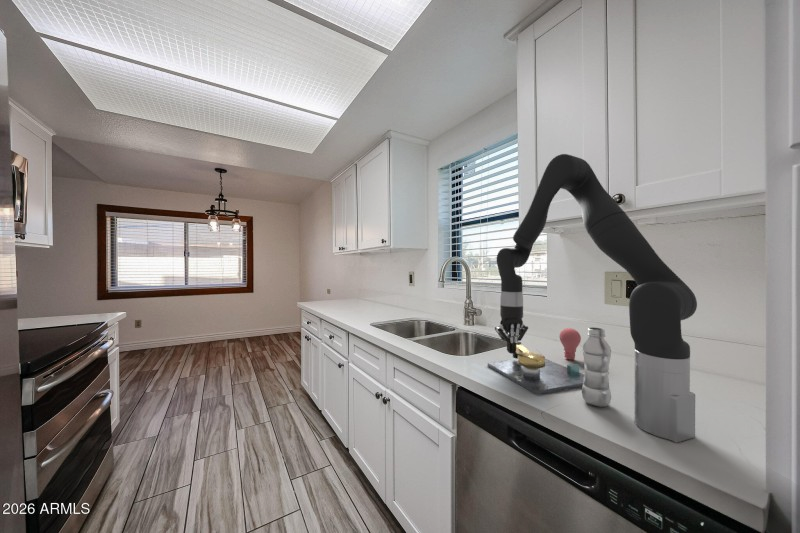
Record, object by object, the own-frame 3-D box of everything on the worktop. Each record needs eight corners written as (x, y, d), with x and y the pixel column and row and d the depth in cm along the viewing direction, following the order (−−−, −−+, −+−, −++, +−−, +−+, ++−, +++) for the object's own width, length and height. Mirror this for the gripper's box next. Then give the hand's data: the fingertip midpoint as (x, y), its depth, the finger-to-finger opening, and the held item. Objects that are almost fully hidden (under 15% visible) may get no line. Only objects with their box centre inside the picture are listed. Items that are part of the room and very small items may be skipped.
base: (597, 384, 89) (597, 367, 89) (537, 395, 82) (537, 377, 82) (538, 359, 112) (538, 346, 111) (487, 366, 105) (487, 352, 105)
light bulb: (575, 356, 114) (574, 326, 114) (584, 362, 107) (584, 330, 107) (556, 356, 115) (556, 326, 115) (564, 362, 108) (564, 330, 108)
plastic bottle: (575, 400, 78) (575, 327, 78) (593, 396, 81) (593, 325, 80) (599, 412, 72) (599, 332, 72) (617, 407, 75) (617, 330, 74)
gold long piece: (549, 377, 88) (549, 359, 88) (522, 377, 89) (522, 359, 88) (526, 356, 108) (526, 341, 108) (504, 355, 108) (504, 341, 108)
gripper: (502, 306, 96) (502, 358, 97) (534, 304, 100) (534, 354, 101) (489, 303, 104) (489, 351, 104) (519, 302, 108) (519, 348, 108)
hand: (511, 352), depth 102 cm, fingers closed
